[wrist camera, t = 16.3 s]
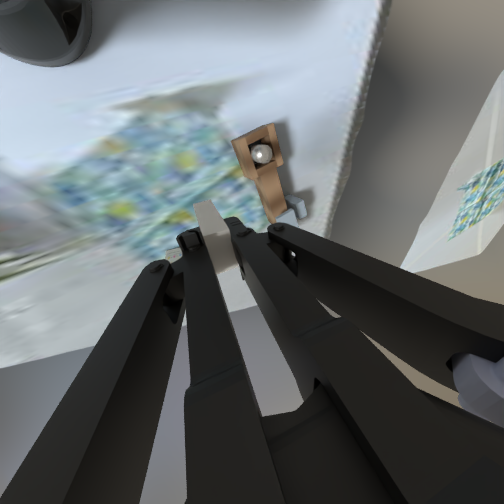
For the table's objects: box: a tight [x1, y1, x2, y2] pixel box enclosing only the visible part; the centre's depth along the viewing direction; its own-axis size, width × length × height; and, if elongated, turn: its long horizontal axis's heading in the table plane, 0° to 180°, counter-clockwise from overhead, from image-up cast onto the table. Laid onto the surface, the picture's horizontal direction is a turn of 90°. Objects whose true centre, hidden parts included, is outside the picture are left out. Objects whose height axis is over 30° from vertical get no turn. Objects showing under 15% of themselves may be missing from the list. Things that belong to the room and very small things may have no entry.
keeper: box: [275, 194, 307, 228], centre depth 43 cm, size 8×8×8 cm
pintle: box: [248, 145, 272, 164], centre depth 34 cm, size 3×3×8 cm
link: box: [231, 123, 288, 224], centre depth 39 cm, size 20×7×5 cm, turn 22°
